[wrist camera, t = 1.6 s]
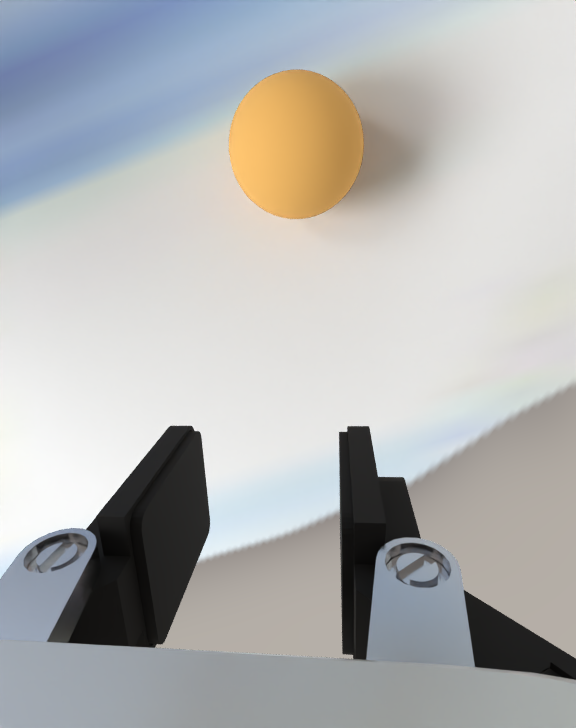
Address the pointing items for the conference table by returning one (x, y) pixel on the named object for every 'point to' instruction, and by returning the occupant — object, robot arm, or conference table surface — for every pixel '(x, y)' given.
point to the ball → (296, 144)
